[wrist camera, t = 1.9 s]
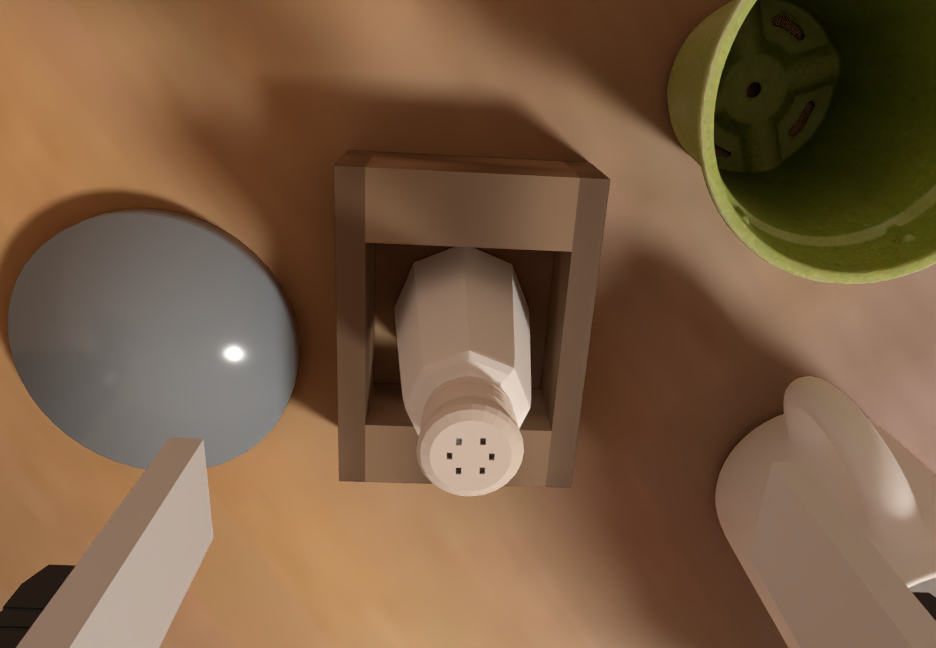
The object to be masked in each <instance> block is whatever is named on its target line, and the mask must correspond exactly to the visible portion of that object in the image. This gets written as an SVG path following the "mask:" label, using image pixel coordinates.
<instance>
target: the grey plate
mask: <svg viewBox="0 0 936 648" xmlns="http://www.w3.org/2000/svg"><path fill="white" fill-rule="evenodd" d="M8 337H9V345H10V350H11V353H12V357H13V361H14V364H15V366H16V369H17V371H18V374H19V376H20V378H21V380H22V382H23V384H24V386H25V387H26V389H27V391H28V393H29V394H30V396H31V397H32V399H33V400H34V401H35V403H36V404H37V405H38V407H39V408H40V409H41V411H42V412H43V413H44V414H45V415H46V416H47V417H48V418H49V419H50V420H51V421H52V422H53V423H54V424H55V425H56V426H57V427H58V428H60V429H61V430H62V431H63V432H64V433H65V434H67V435H68V436H69V437H71V438H72V439H74V440H75V441H77V442H78V443H79V444H81V445H82V446H84V447H86V448H88V449H90V450H91V451H93V452H95V453H97V454H99V455H101V456H103V457H106V458H108V459H111V460H113V461H115V462H119V463H122V464H125V465H129V466H132V467H136V468H141V469H147V468H148V466H149V465H150V464H151V462H152V461H153V459H154V458H155V457H156V455H157V454H158V453H159V451H160V450H161V448H162V447H163V446H164V444H165V443H166V442H167V440H168V439H169V438H194V439H204V448H205V458H206V468H208V467H212V466H216V465H219V464H222V463H224V462H227V461H229V460H232V459H234V458H236V457H238V456H239V455H241V454H243V453H245V452H246V451H248V450H249V449H251V448H252V447H253V446H255V445H256V444H257V443H259V442H260V441H261V440H262V439H263V438H264V437H265V436H266V435H267V434H268V433H269V432H270V431H271V430H272V428H273V427H274V426H275V424H276V423H277V421H278V420H279V419H280V417H281V415H282V413H283V411H284V409H285V408H286V406H287V404H288V401H289V399H290V397H291V395H292V392H293V389H294V386H295V383H296V381H297V377H298V372H299V366H300V350H301V347H300V338H299V330H298V326H297V322H296V318H295V314H294V312H293V309H292V307H291V304H290V302H289V299H288V297H287V296H286V294H285V292H284V290H283V288H282V287H281V285H280V283H279V282H278V280H277V279H276V278H275V276H274V275H273V273H272V272H271V271H270V269H269V268H268V267H267V266H266V265H265V264H264V263H263V262H262V261H261V259H260V258H259V257H258V256H257V255H256V254H255V253H254V252H252V251H251V250H250V249H249V248H248V247H246V246H245V245H244V244H243V243H242V242H240V241H239V240H237V239H236V238H234V237H233V236H231V235H230V234H228V233H227V232H225V231H224V230H222V229H220V228H218V227H216V226H214V225H212V224H210V223H208V222H206V221H203V220H200V219H198V218H195V217H192V216H189V215H186V214H182V213H178V212H173V211H169V210H162V209H153V208H128V209H121V210H115V211H109V212H106V213H102V214H99V215H96V216H92V217H90V218H88V219H86V220H84V221H81V222H79V223H77V224H75V225H73V226H71V227H69V228H67V229H65V230H63V231H61V232H60V233H58V234H57V235H55V236H54V237H52V238H51V239H49V240H48V241H47V242H46V243H44V244H43V245H42V246H41V247H40V248H39V249H38V250H37V251H36V252H35V253H34V254H33V255H32V257H31V258H30V259H29V260H28V262H27V263H26V264H25V266H24V267H23V269H22V271H21V273H20V275H19V277H18V278H17V280H16V283H15V286H14V289H13V292H12V294H11V298H10V304H9V310H8Z"/></svg>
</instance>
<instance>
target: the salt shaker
mask: <svg viewBox="0 0 936 648" xmlns="http://www.w3.org/2000/svg"><path fill="white" fill-rule="evenodd" d="M394 314H395V324H396V335H397V345H398V355H399V366H400V376H401V387H402V396H403V401H404V406H405V409H406V411H407V413H408V416H409V418H410V420H411V422H412V424H413V426H414V428H415V430H416V432H417V434H418V436H419V437H418V443H417V450H416V452H417V458H418V464H419V466H420V468H421V470H422V472H423V474H424V475H425V476H426V477H427V478H428V479H429V481H430V482H431V483H432V484H434V485H435V486H437V487H438V488H440V489H441V490H443V491H446V492H449V493H451V494H454V495H460V496H478V495H484V494H487V493H490V492H493V491H496V490H497V489H499V488H500V487H502V486H504V485H505V484H507V483H508V482H509V481H510V480H511V479H512V478H513V477H514V475H515V474H516V473H517V471H518V469H519V467H520V465H521V463H522V459H523V454H524V446H523V438H522V435H521V433H520V430H519V429H520V427H521V425H522V423H523V421H524V419H525V417H526V415H527V414H528V412H529V410H530V406H531V358H530V314H529V308H528V305H527V302H526V300H525V297H524V295H523V292H522V289H521V287H520V284H519V281H518V279H517V276H516V273H515V271H514V268H513V266H512V264H511V263H508V262H506V261H504V260H501V259H499V258H497V257H494V256H492V255H489V254H487V253H485V252H482V251H480V250H478V249H475V248H473V247H453V248H450V249H448V250H445V251H443V252H440V253H437V254H435V255H432V256H430V257H427V258H424V259H422V260H419V261H417V262H414V263H413V265H412V268H411V270H410V272H409V275H408V277H407V279H406V282H405V284H404V286H403V289H402V291H401V293H400V296H399V298H398V300H397V303H396V305H395V307H394Z"/></svg>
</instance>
